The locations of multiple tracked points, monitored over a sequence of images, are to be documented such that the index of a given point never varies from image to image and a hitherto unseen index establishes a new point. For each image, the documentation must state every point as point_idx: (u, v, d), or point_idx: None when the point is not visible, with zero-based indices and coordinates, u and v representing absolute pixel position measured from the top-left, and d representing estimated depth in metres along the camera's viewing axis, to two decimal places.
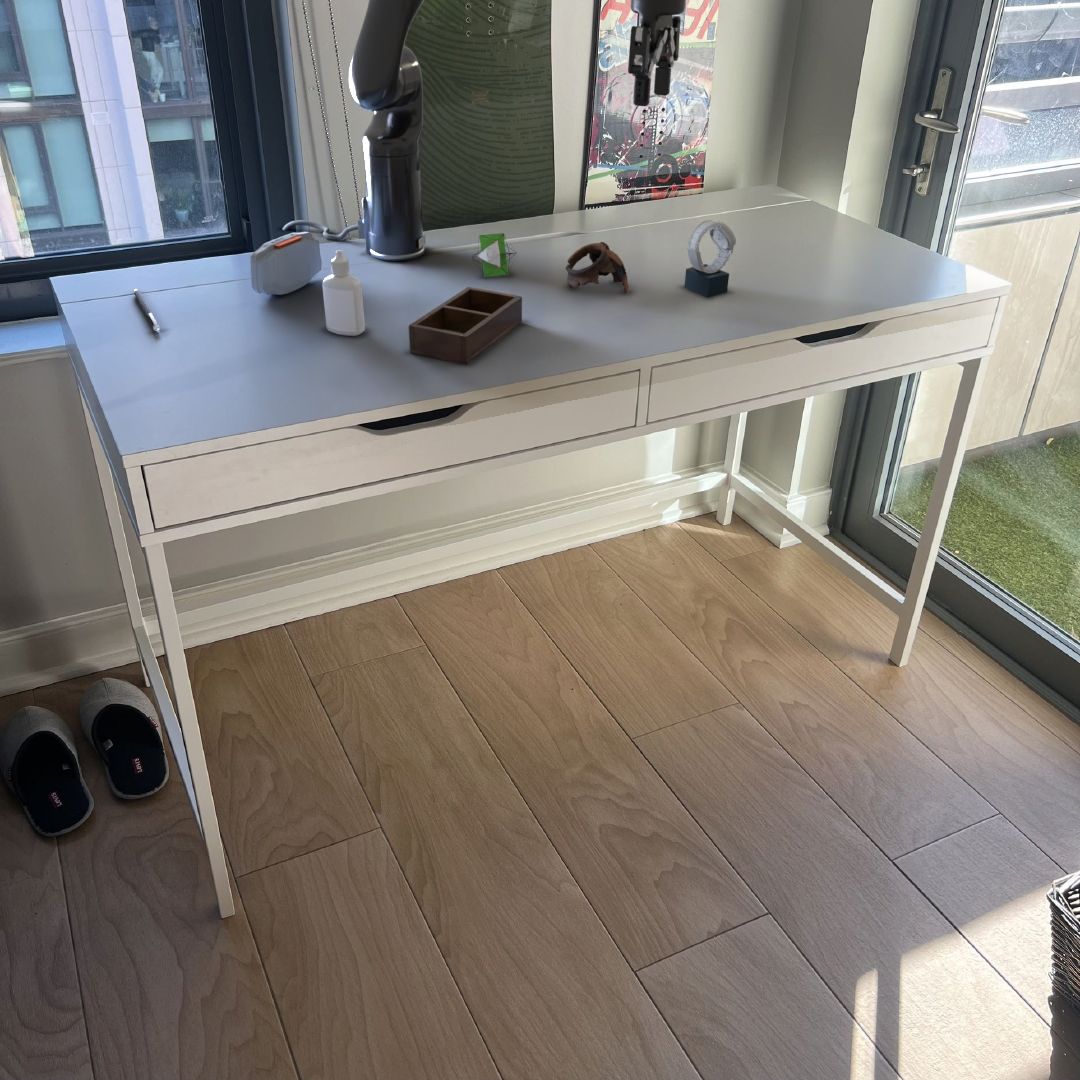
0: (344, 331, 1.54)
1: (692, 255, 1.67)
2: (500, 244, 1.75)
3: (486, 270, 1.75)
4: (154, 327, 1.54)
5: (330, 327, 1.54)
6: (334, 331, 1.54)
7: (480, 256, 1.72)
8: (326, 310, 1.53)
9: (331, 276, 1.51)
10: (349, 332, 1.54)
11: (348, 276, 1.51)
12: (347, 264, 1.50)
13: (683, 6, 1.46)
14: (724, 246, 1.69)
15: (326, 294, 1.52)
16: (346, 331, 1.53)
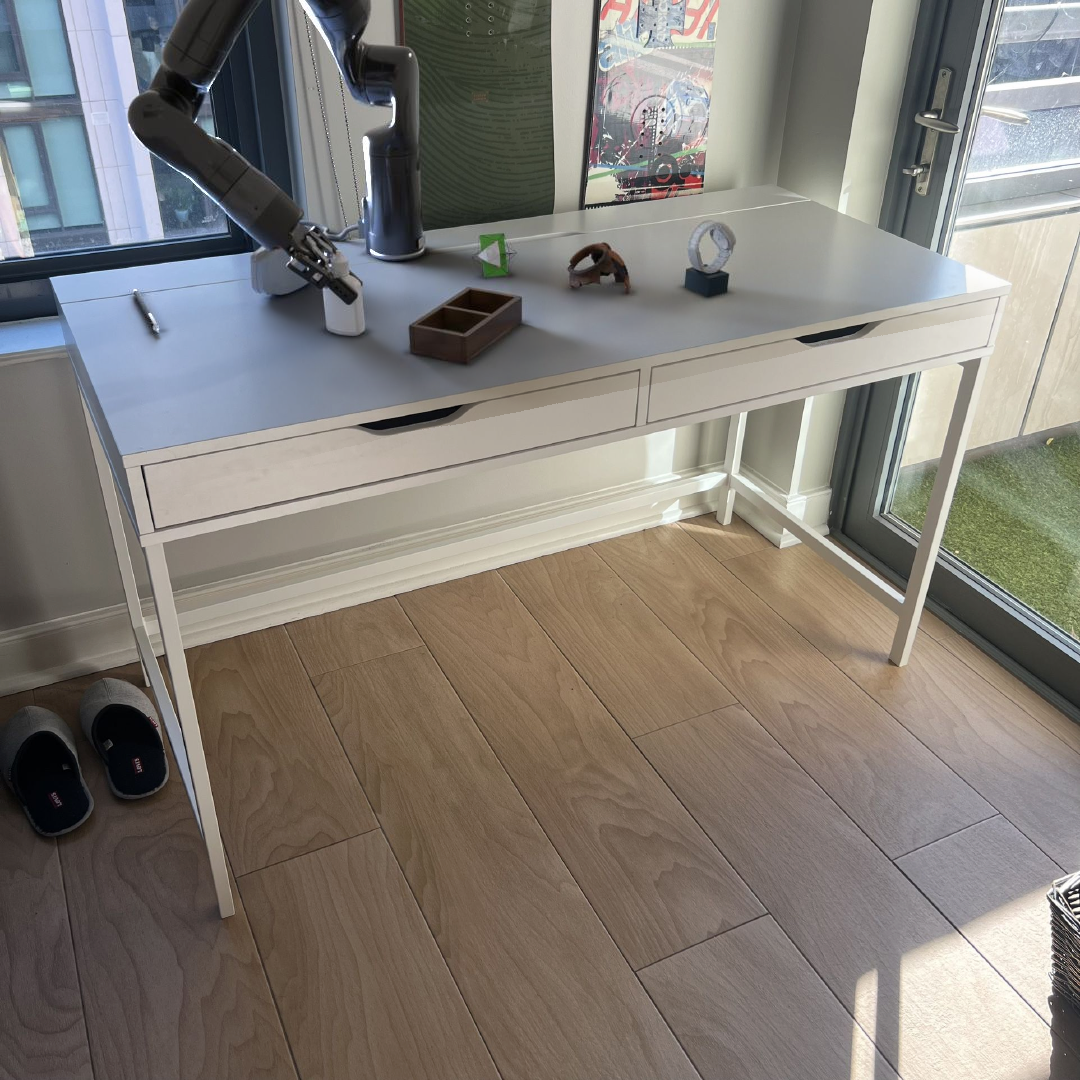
0: (344, 331, 1.54)
1: (692, 255, 1.67)
2: (500, 244, 1.75)
3: (486, 270, 1.75)
4: (154, 327, 1.54)
5: (330, 327, 1.54)
6: (334, 331, 1.54)
7: (480, 256, 1.72)
8: (326, 310, 1.53)
9: None
10: (349, 332, 1.54)
11: (348, 276, 1.51)
12: (347, 264, 1.50)
13: None
14: (724, 246, 1.69)
15: (326, 294, 1.52)
16: (346, 331, 1.53)
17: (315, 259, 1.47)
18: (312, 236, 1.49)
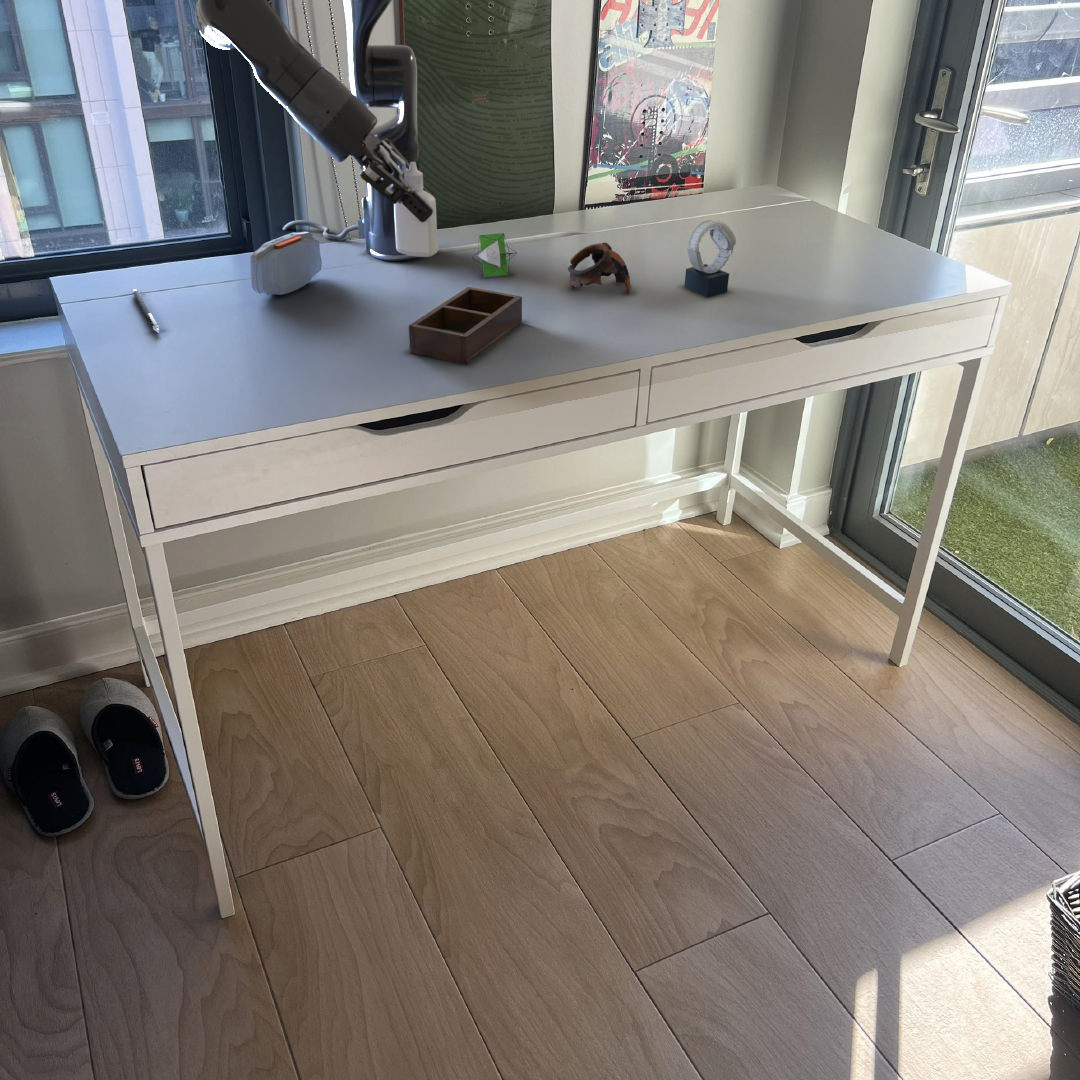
0: (416, 252, 1.43)
1: (692, 255, 1.67)
2: (500, 244, 1.75)
3: (486, 270, 1.75)
4: (154, 327, 1.54)
5: (400, 248, 1.44)
6: (405, 252, 1.44)
7: (480, 256, 1.72)
8: (396, 229, 1.43)
9: None
10: (421, 253, 1.43)
11: (422, 191, 1.40)
12: (421, 178, 1.39)
13: None
14: (724, 246, 1.69)
15: (397, 211, 1.41)
16: (418, 252, 1.43)
17: (388, 170, 1.37)
18: (385, 146, 1.38)
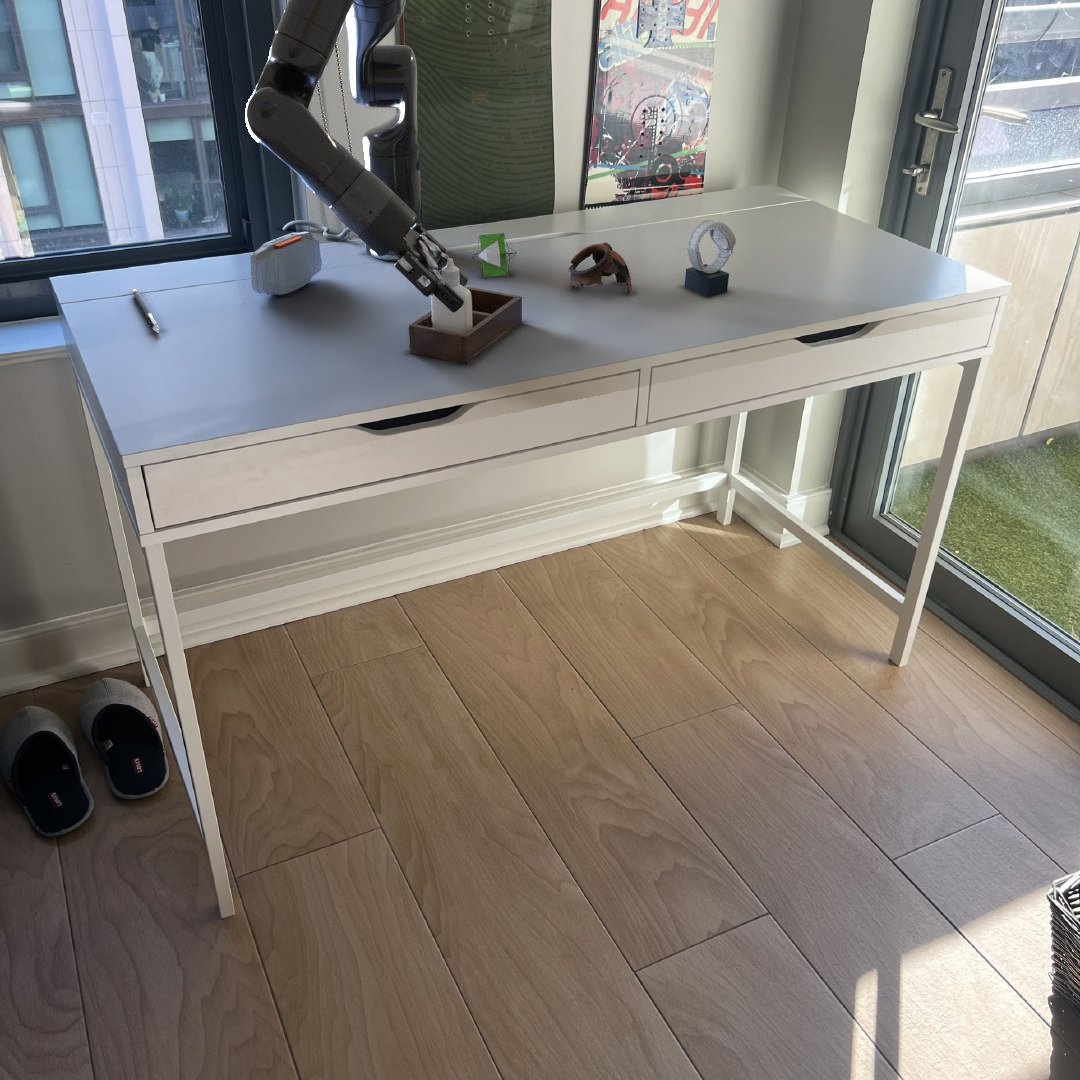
0: None
1: (692, 255, 1.67)
2: (500, 244, 1.75)
3: (486, 270, 1.75)
4: (154, 327, 1.54)
5: None
6: None
7: (480, 256, 1.72)
8: (433, 320, 1.48)
9: None
10: None
11: (458, 285, 1.46)
12: (458, 273, 1.45)
13: None
14: (724, 246, 1.69)
15: (435, 304, 1.47)
16: None
17: (428, 264, 1.42)
18: (425, 241, 1.44)
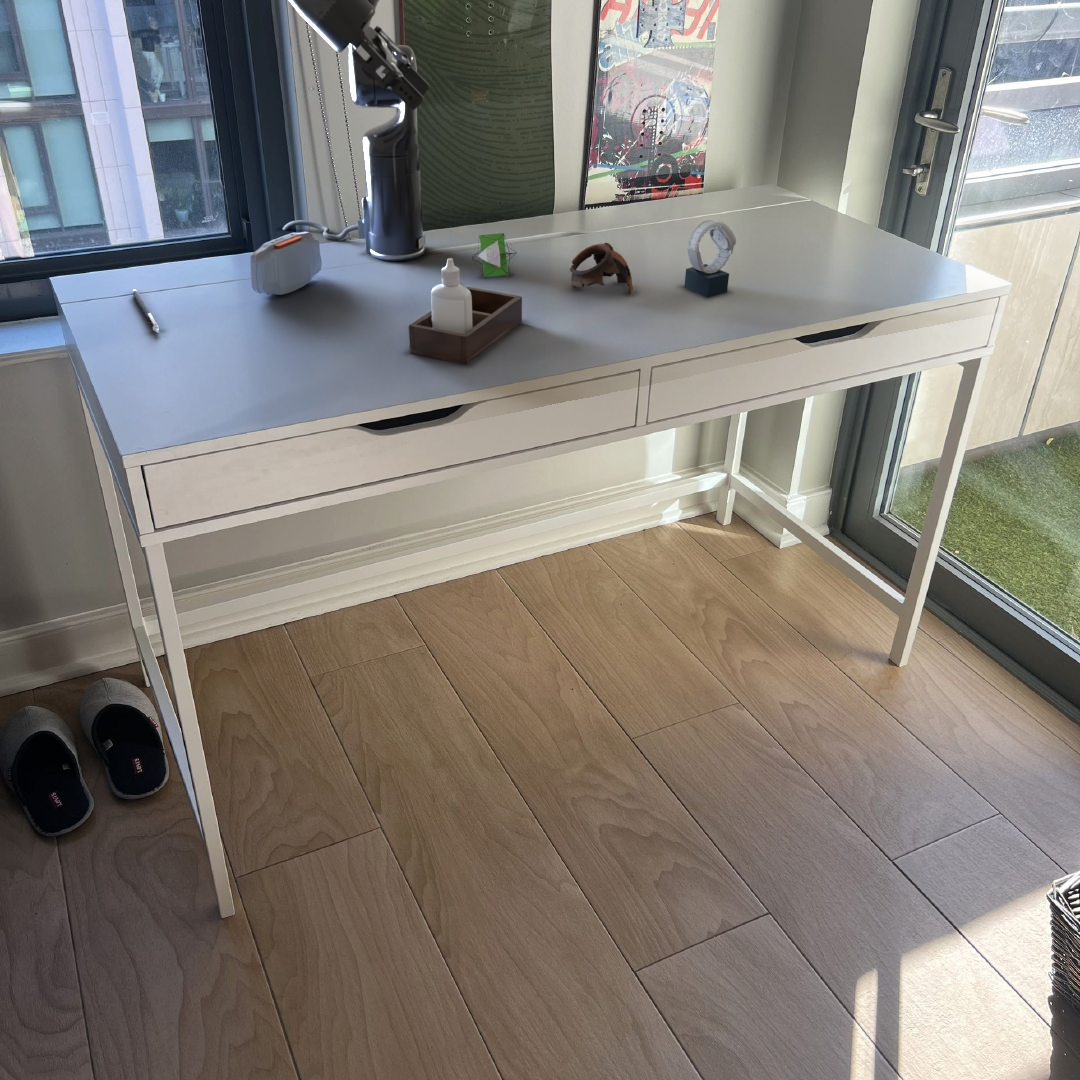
0: None
1: (692, 255, 1.67)
2: (500, 244, 1.75)
3: (486, 270, 1.75)
4: (153, 327, 1.54)
5: None
6: None
7: (480, 256, 1.72)
8: (433, 320, 1.48)
9: (441, 285, 1.46)
10: None
11: (458, 285, 1.46)
12: (458, 273, 1.45)
13: None
14: (724, 246, 1.69)
15: (435, 304, 1.47)
16: None
17: None
18: (384, 38, 1.42)
